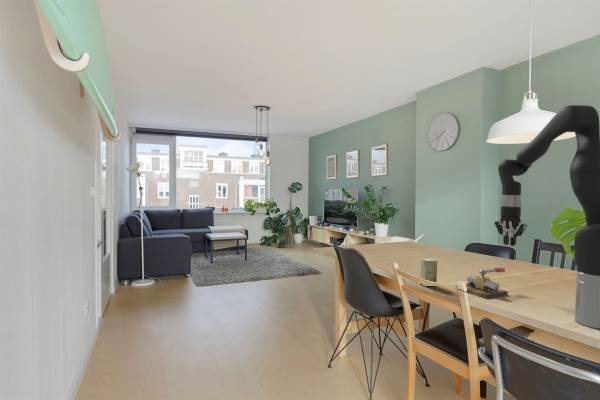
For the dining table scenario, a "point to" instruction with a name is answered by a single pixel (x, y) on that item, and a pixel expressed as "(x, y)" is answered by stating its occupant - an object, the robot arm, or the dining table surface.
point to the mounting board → (485, 292)
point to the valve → (483, 283)
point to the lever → (492, 270)
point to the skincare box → (428, 270)
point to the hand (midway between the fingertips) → (509, 244)
